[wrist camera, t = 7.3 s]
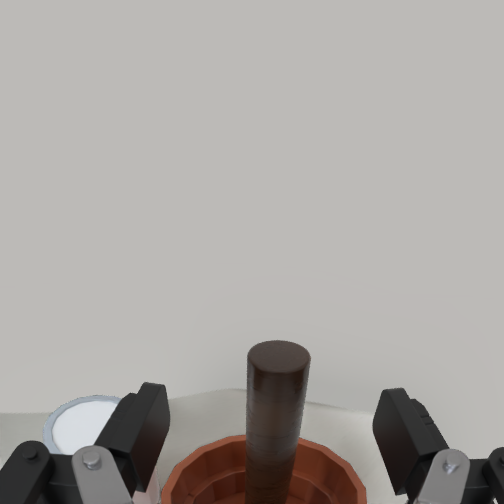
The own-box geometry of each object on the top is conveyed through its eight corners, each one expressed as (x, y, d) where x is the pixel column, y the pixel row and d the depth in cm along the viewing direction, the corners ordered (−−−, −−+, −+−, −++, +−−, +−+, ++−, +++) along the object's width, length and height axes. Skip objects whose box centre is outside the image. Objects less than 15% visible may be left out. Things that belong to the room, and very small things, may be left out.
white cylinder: (65, 474, 16) (32, 408, 14) (139, 448, 20) (121, 382, 19) (103, 541, 11) (60, 486, 9) (188, 504, 15) (174, 443, 14)
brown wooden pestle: (253, 565, 10) (269, 398, 7) (223, 531, 13) (209, 345, 10) (298, 540, 12) (350, 359, 9) (266, 511, 15) (285, 324, 12)
